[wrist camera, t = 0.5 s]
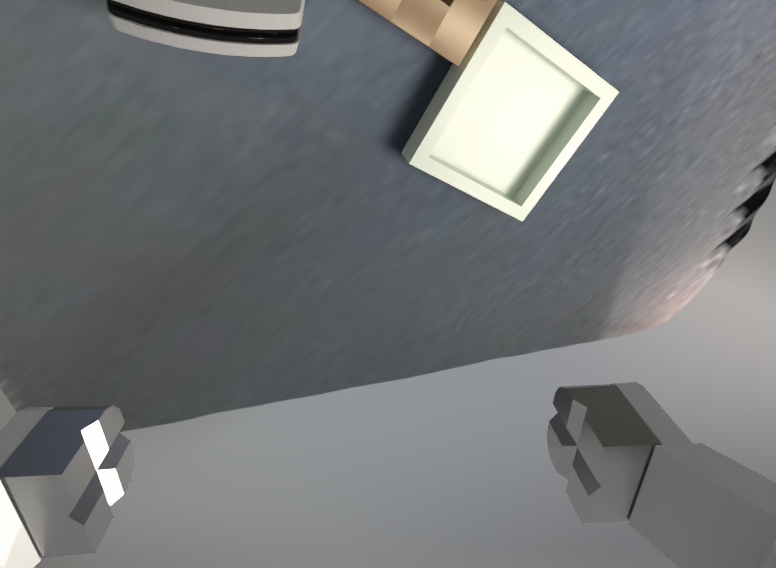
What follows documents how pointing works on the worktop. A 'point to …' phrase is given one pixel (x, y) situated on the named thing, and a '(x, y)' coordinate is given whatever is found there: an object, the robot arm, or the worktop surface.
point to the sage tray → (508, 115)
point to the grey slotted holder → (213, 24)
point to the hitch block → (437, 22)
